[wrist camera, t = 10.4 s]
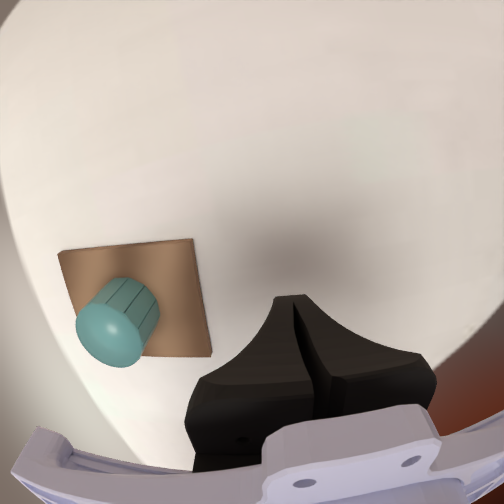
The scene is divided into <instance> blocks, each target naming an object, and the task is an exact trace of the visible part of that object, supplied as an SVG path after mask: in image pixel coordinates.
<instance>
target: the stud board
mask: <svg viewBox="0 0 504 504" xmlns="http://www.w3.org/2000/svg"><path fill="white" fill-rule="evenodd" d="M57 255H58V259H59V263H60V266H61V270H62V273H63V277H64V280H65V283H66V287H67V290H68V293H69V296H70V299H71V302H72V305H73V308H74V311H75V313H76V316H78V314H79V311H80V310H81V309H82V308H83V307H84V306H85V305H86V304H87V303H88V302H89V301H90V300H91V299H92V298H93V297H94V296H95V295H96V294H97V293H98V292H99V291H100V290H101V289H102V288H103V287H104V286H105V285H106V284H107V283H109V282H110V281H111V280H112V279H114V278H127V277H129V278H132V279H134V280H136V281H138V282H140V283H142V284H144V286H146V287H147V288H148V289H149V290H150V292H151V293H152V294H153V295H154V296H155V298H156V300H157V302H158V307H159V311H160V317H159V320H158V323H157V326H156V328H155V330H154V332H153V334H152V336H151V337H150V339H149V341H148V343H147V345H146V347H145V349H144V351H143V353H142V355H141V356H152V357H211V354H212V349H211V344H210V339H209V334H208V328H207V323H206V318H205V312H204V307H203V301H202V295H201V290H200V284H199V278H198V271H197V265H196V259H195V252H194V246H193V239H182V240H170V241H159V242H148V243H137V244H126V245H116V246H105V247H95V248H85V249H76V250H66V251H61V252H60V253H58V254H57Z"/></svg>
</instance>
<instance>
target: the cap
mask: <svg viewBox="0 0 504 504" xmlns="http://www.w3.org/2000/svg"><path fill="white" fill-rule="evenodd" d="M159 317H160V311H159V307H158V302H157V300H156V298H155V296H154V295H153V294H152V293H151V292H150V290H149V289H148V288H147V287H146V286H144V284H142V283H140V282H138V281H136V280H134V279H132V278H129V277H127V278H114V279H112V280H111V281H110V282H109V283H107V284H106V285H105V286H104V287H103V288H102V289H101V290H100V291H99V292H98V293H97V294H96V295H95V296H94V297H93V298H92V299H91V300H90V301H89V302H88V303H87V304H86V305H85V306H84V307H83V308H82V309H81V310H80V311H79V314H78V316H77V318H76V332H77V335H78V338H79V340H80V342H81V343H82V345H83V346H84V348H85V349H86V350H87V351H88V352H89V353H90V354H91V355H92V356H93V357H94V358H96V359H97V360H99V361H100V362H102V363H104V364H106V365H109V366H113V367H118V368H123V367H129V366H131V365H133V364H134V363H135V362H137V360H139V359H140V357H141V355H142V353H143V351H144V349H145V347H146V345H147V343H148V341H149V339H150V337H151V336H152V334H153V332H154V330H155V328H156V326H157V323H158V320H159Z"/></svg>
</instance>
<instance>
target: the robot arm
mask: <svg viewBox="0 0 504 504" xmlns="http://www.w3.org/2000/svg"><path fill="white" fill-rule="evenodd" d="M436 385H437V381H436V376H435V374H434V373H433V371H432V369H431V368H430V366H429V364H428V363H427V362H426V360H425V359H424V358H423V356H422V355H421V354H418V353H413V352H407V351H402V350H397V349H394V348H390V347H387V346H383V345H381V344H378V343H375V342H373V341H370V340H368V339H366V338H363V337H361V336H359V335H357V334H355V333H354V332H352V331H350V330H348V329H346V328H345V327H343V326H342V325H340V324H339V323H338V322H336V321H335V320H333V319H332V318H331V317H329V316H328V315H327V314H326V313H325V312H324V311H322V310H321V309H320V308H319V307H318V306H317V305H316V304H315V303H314V302H313V301H312V300H311V299H310V298H309V297H308V296H307V295H306V294H303V295H290V296H277V297H275V298H274V299H273V305H272V307H271V310H270V312H269V314H268V316H267V318H266V320H265V322H264V324H263V325H262V327H261V328H260V330H259V332H258V333H257V334H256V336H255V337H254V338H253V340H252V341H251V342H250V343H249V344H248V345H247V346H246V347H245V348H244V349H243V350H242V351H241V352H240V353H239V354H238V355H237V356H236V357H235V358H233V359H232V360H231V361H229V362H228V363H226V364H225V365H223V366H222V367H220V368H218V369H216V370H214V371H213V372H211V373H209V374H207V375H205V376H203V377H201V378H200V379H199V381H198V383H197V385H196V387H195V389H194V391H193V393H192V395H191V398H190V401H189V404H188V408H187V412H186V417H185V421H184V423H185V429H186V432H187V434H188V436H189V439H190V441H191V443H192V446H193V448H194V450H195V452H196V454H195V460H194V465H193V471H186V470H176V469H168V468H160V467H153V466H147V465H141V464H136V463H130V462H125V461H120V460H116V459H112V458H107V457H103V456H99V455H95V454H92V453H88V452H85V451H81V450H78V449H74V448H73V446H72V445H71V443H70V442H69V441H68V440H67V438H66V437H64V436H63V435H61V434H60V433H57V432H55V431H52V430H49V429H46V428H43V427H40V426H37V427H36V429H35V430H34V432H33V434H32V435H31V437H30V439H29V440H28V442H27V443H26V445H25V447H24V449H23V450H22V452H21V454H20V455H19V457H18V459H17V461H16V462H15V464H14V466H13V468H12V470H11V474H12V475H13V476H14V477H15V478H16V479H18V480H19V481H20V482H21V483H22V484H23V485H24V486H25V487H27V488H28V489H29V490H30V491H31V492H32V493H34V494H35V495H36V496H37V497H38V498H40V499H41V500H42V501H43V502H45V503H46V504H470V503H472V502H474V501H476V500H477V499H479V498H480V497H482V496H484V495H485V494H487V493H488V492H490V491H491V490H493V489H494V488H496V487H497V486H499V485H500V484H502V483H503V482H504V410H503V411H501V412H499V413H497V414H495V415H493V416H491V417H489V418H487V419H485V420H483V421H481V422H479V423H477V424H474V425H472V426H470V427H468V428H466V429H463V430H461V431H458V432H456V433H453V434H451V435H449V436H442V437H440V436H439V434H438V432H437V430H436V428H435V426H434V424H433V422H432V420H431V418H430V416H429V414H428V412H427V408H428V406H429V404H430V401H431V399H432V397H433V395H434V392H435V389H436Z"/></svg>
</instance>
